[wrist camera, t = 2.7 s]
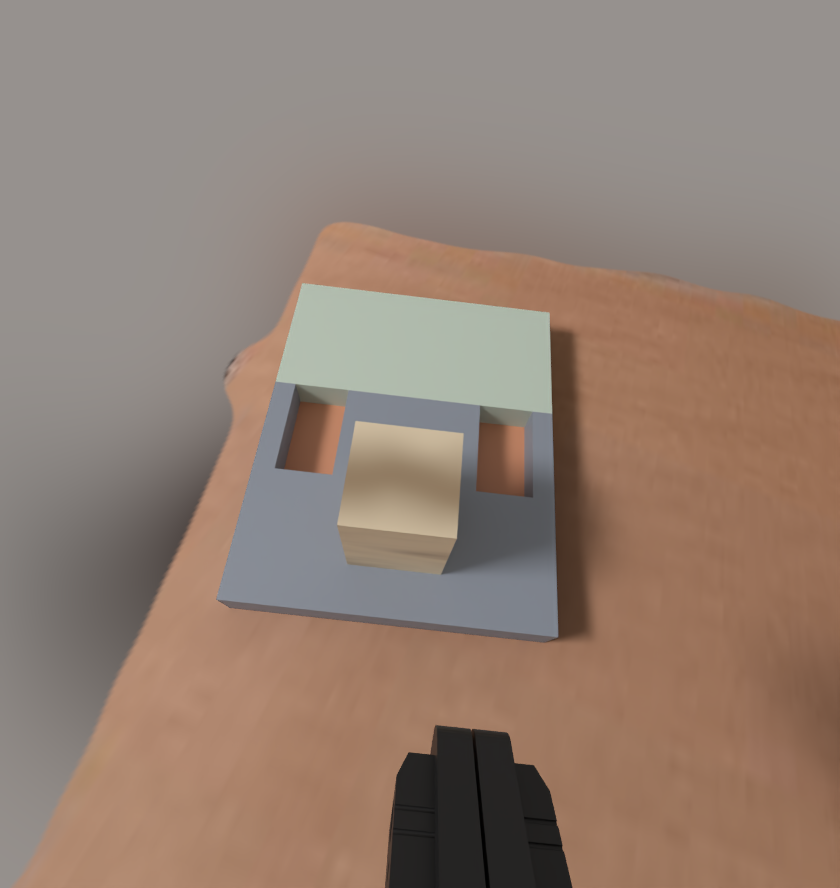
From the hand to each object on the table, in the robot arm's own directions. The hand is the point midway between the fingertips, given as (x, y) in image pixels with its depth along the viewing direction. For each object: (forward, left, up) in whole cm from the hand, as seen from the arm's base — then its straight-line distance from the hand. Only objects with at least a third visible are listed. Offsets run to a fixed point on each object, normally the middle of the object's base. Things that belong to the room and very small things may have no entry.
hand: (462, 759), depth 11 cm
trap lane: (-16, -9, -23) cm, 30 cm away
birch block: (-10, -7, -20) cm, 23 cm away
